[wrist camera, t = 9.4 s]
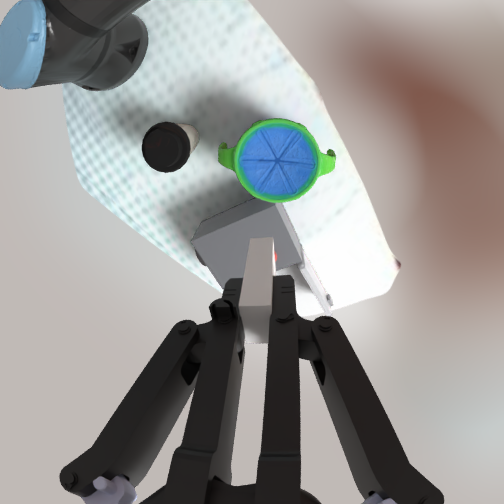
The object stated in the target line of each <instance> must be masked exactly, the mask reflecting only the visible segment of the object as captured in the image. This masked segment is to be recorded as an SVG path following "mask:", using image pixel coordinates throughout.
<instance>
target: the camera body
mask: <svg viewBox="0 0 504 504" xmlns="http://www.w3.org/2000/svg"><path fill="white" fill-rule="evenodd" d="M266 237H273V242H274V254H275V267H276V271H277V270H280V269H283V268H286V267H289V266H291V265H294V264H297V263H300V262H302V256H301V249H300V242H299V238H298V236H297V234H296V231H295V229H294V227H293V225H292V223H291V221H290V218H289V216H288V214H287V212H286V210H285V208H284V206H283V204H282V203H273V202H267V201H264V200H261V199H259V198H254V199H252V200H249V201H247V202H245V203H242V204H240V205H238V206H236V207H233V208H231V209H229V210H227V211H224V212H222V213H220V214H218V215H216V216H214V217H211V218H209V219H207V220H205V221H203V222H201V224H200V226H199V228H198V229H197V231H196V233H195V235H194V237H193V239H192V240H191V243H192V244H193V246H194V247H195V252H196V255H197V257H198V259H199V261H200V262H201V264H203V265H204V266H207V267H208V268H209V270H210V271H211V273H212V274H213V276H214V277H215V279H216V280H217V282H218V283H219V285H220V286H221V288H222V289H224V287H225V284H226V282H227V281H228V280H229V279H230V278H244V272H245V266H246V261H247V255H248V249H249V244H250V238H266Z"/></svg>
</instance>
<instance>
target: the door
mask: <svg viewBox="0 0 504 504" xmlns="http://www.w3.org/2000/svg"><path fill="white" fill-rule="evenodd" d="M300 249H301V256H302V262H300V263H297V267H298V268H299V269H300V271H301V273H302V274H303V276H304V278H305V279H306V281H307V283H308V285H309V286H310V288H311V290H312V291H313V293H314V295H315V297H316V298H317V300H318V302H319V304H320V305H321V307H322V309H323V311H324V312H325V314H326V316H331V315H332V311H331V306H332V305H333V302H332V299H331V297H330V295H329V294H328V293H327V291H326V289H325V288H324V286H323V284H322V282H321V280H320V278H319V276H318V275H317V273H316V271H315V269H314V267H313V265H312V264H311V262H310V260H309V258H308V256H307V255H306V253H305V251H304V249H303V248H302V245H301V244H300Z"/></svg>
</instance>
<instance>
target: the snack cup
mask: <svg viewBox="0 0 504 504" xmlns="http://www.w3.org/2000/svg"><path fill="white" fill-rule="evenodd" d="M218 156H219V157H218V161H219V163H220V164H222V165H223V166H225V167H226V168H229V169H231V170H233V171H234V172H235V173H236V175H237V177H238V179H239V181H240V183H241V184H242V186H243V187H244V188H245V189H246V190H247V191H248V192H249V193H250V194H251V195H252V196H254V197H256V198H259V199H261V200H264V201H267V202H273V203H282V202H288V201H292V200H296V199H298V198H300V197H301V196H302V195H304V194H305V193H306V192H308V191H309V190H310V189H311V188H312V186H313V185H314V184H315V182H316V180H317V178H318V177H319V176H322V175H325V174H328V173H329V172H331V171H333V170H334V168H335V160H336V155H335V153H334V151H333V150H331V149H329V150H328V151H327V154H323V153H321V152H320V150H319V147H318V144H317V143H316V141H315V139H314V137H313V136H312V135H311V134H310V133H309V131H308V130H307V129H306V127H305V126H303V125H302V124H300V123H296V122H293V121H290V120H287V119H281V118H273V119H267V120H263V121H262V120H260V121H257V122H255V123H253V124H252V126H251V127H250V128H249V129H248V130H247V131H246V132H245V133H244V134H243V135H242V137H241V138H240V139H239V141H238V143H237V145H236V146H235V147H233V148H229V149H227V144H226V143H225V142H223V143H221V145H220V146H219V148H218Z"/></svg>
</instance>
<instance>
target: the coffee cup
mask: <svg viewBox="0 0 504 504" xmlns="http://www.w3.org/2000/svg"><path fill="white" fill-rule="evenodd" d="M198 142H199V134H198V132H197V130H196V129H195V128H194V127H193V126H191V125H187V124H175V123H171V122H162V123H158V124H156V125H154V126H152V127H151V128H150V129H149V130H148V131H147V132H146V134H145V137H144V139H143V142H142V153H143V157H144V159H145V161H146V162H147V164H148V165H149V166H150V167H151V168H153V169H155V170H157V171H160V172H164V173H168V172H174V171H176V170H178V169H180V168H181V167H182V166H183V165H184V164H185V163H186V162H187V160H188V158H189V156H190V154H191V153H192V151H193V150H194V149H195V147H196V146H197V144H198Z"/></svg>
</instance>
